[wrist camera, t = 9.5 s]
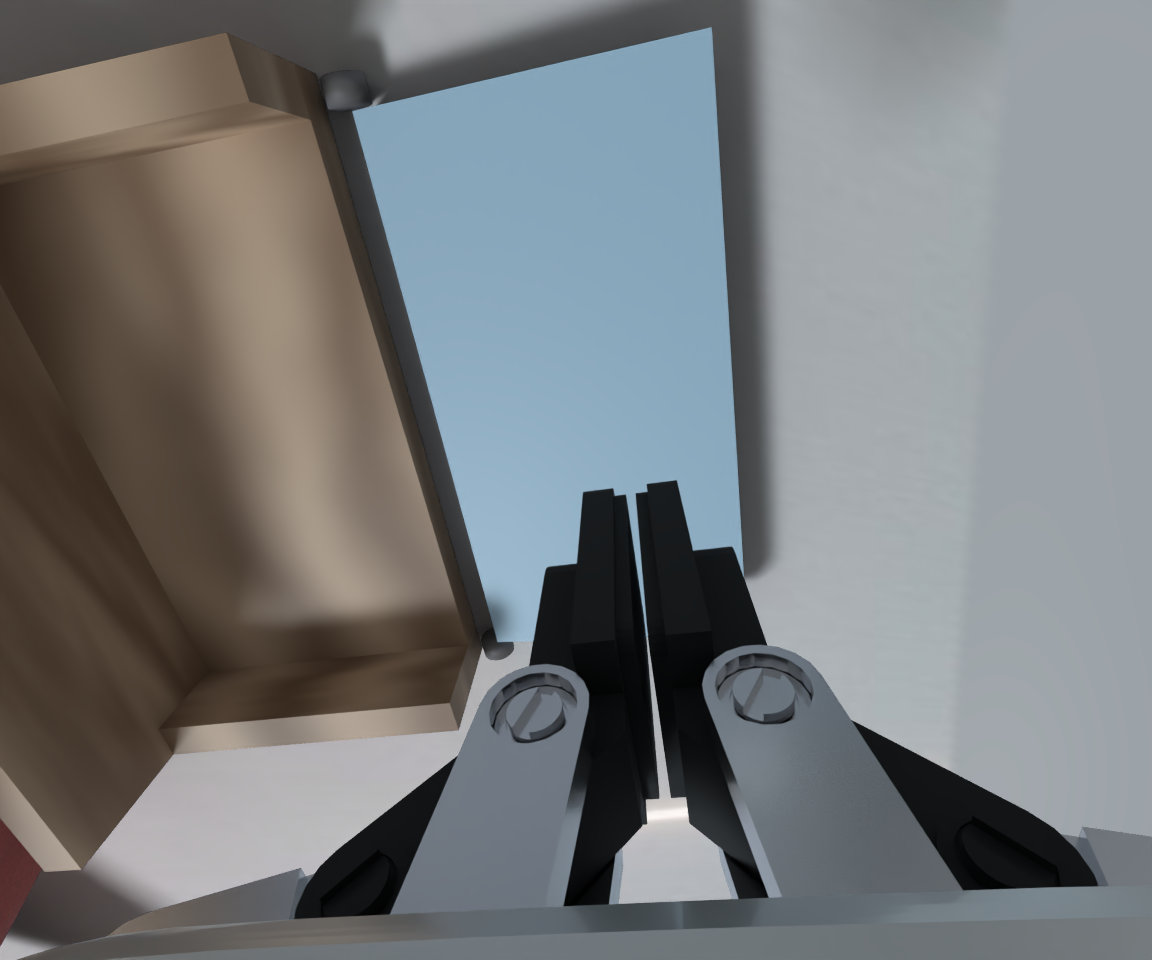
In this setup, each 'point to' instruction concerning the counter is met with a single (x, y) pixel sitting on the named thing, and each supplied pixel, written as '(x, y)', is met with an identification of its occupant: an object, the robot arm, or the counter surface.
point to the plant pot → (14, 877)
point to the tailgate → (567, 298)
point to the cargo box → (201, 442)
